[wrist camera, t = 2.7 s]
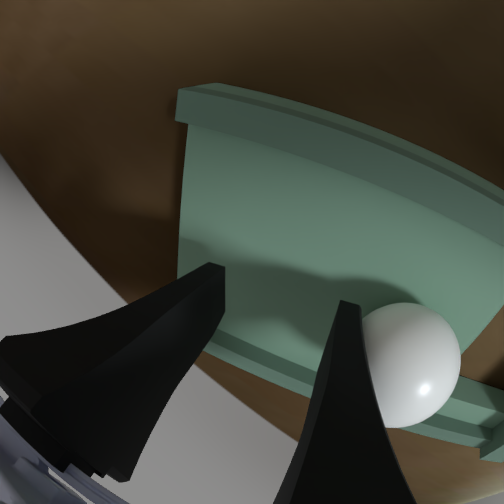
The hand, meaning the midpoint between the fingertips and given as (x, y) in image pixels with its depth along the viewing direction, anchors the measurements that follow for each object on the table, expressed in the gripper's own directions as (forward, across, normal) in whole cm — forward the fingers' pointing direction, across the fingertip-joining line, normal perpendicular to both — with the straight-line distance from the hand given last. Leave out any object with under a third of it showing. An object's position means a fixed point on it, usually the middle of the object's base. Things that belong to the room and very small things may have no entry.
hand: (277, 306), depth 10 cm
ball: (-1, -4, 0) cm, 4 cm away
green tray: (+3, -5, +1) cm, 6 cm away
